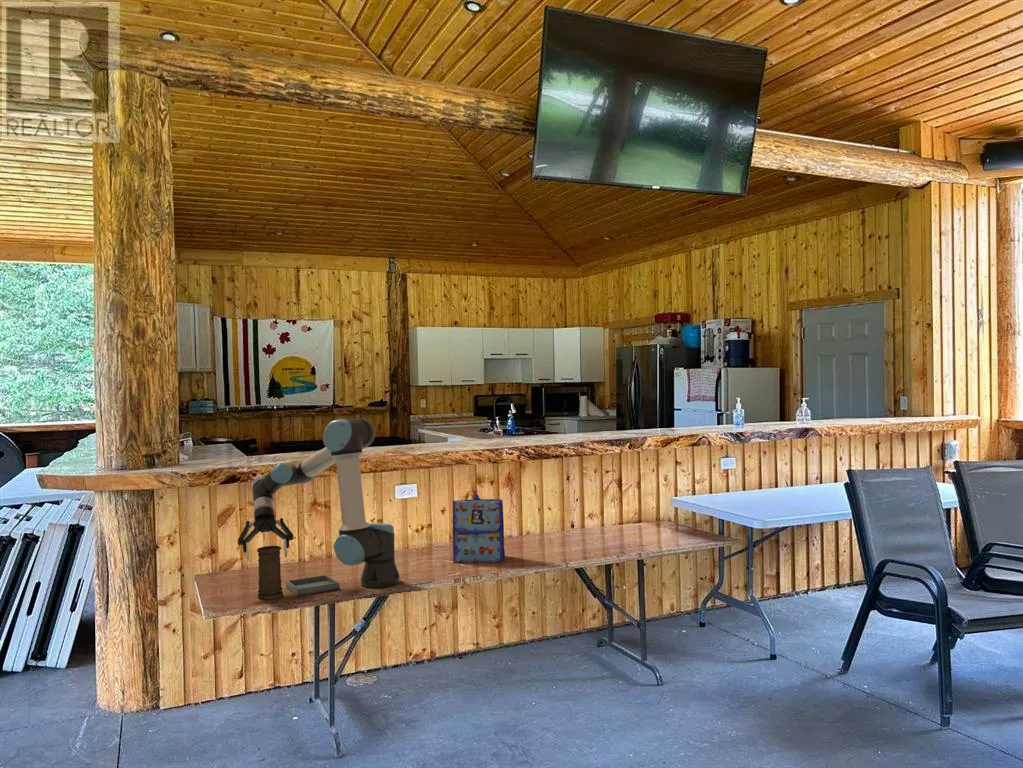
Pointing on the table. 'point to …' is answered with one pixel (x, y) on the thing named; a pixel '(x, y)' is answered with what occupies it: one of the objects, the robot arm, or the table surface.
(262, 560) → the container
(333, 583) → the tray
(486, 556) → the lunch bag
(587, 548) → the table surface
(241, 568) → the table surface
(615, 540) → the table surface
